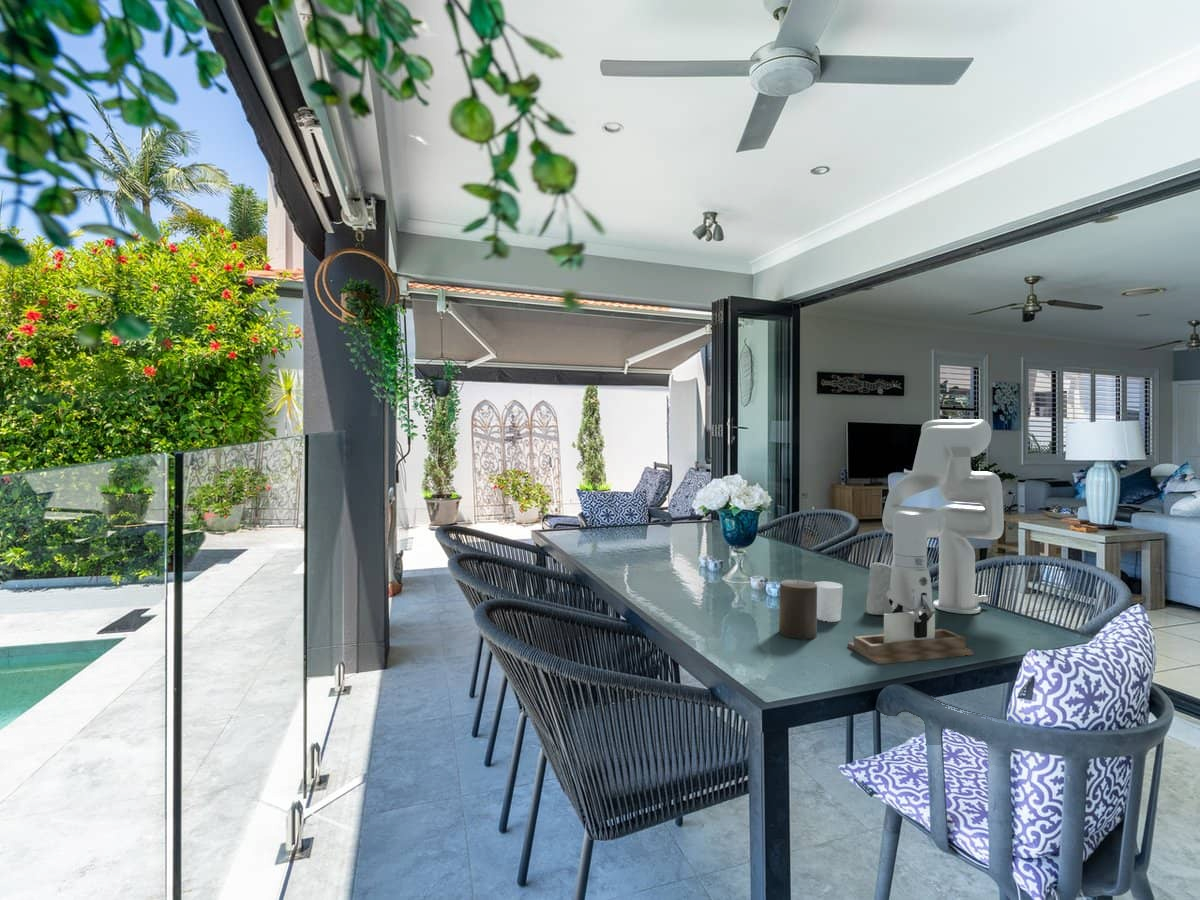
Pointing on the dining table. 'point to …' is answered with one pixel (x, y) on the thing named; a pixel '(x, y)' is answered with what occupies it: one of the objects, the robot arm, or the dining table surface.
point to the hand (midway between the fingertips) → (909, 631)
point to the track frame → (910, 648)
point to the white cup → (829, 601)
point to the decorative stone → (879, 589)
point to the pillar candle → (798, 609)
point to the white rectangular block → (904, 627)
